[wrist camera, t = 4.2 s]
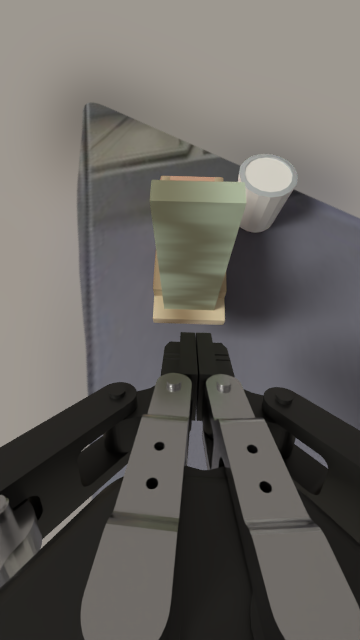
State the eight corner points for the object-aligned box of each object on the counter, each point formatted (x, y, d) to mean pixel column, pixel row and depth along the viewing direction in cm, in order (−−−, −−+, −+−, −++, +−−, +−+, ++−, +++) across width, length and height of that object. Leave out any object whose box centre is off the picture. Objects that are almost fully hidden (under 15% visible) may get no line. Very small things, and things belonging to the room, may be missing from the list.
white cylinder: (251, 189, 40) (265, 144, 34) (288, 217, 38) (310, 174, 32) (219, 215, 39) (227, 172, 32) (255, 245, 37) (272, 206, 30)
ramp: (220, 195, 29) (249, 28, 17) (223, 324, 24) (268, 220, 12) (163, 193, 29) (151, 26, 17) (153, 322, 24) (127, 216, 12)
